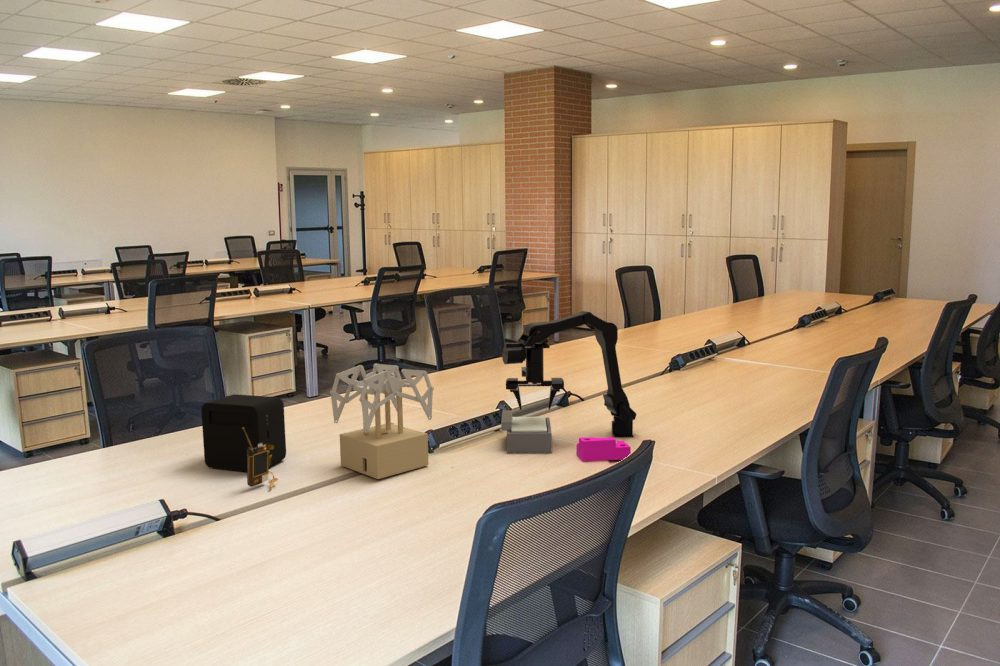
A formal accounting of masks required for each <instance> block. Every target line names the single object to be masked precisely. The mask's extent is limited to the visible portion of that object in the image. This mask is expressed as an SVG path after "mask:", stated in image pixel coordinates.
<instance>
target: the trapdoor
mask: <svg viewBox="0 0 1000 666" xmlns="http://www.w3.org/2000/svg"><path fill="white" fill-rule="evenodd" d="M501 414H502V415H501V422H500V424H501V425H500V428H501V430H500V431H504V432H505V431H506V432H507V431H511V432H547V426H546V418H545V417H546V416H513V410H510V409H509V410H504V409H503V410H502V412H501Z"/></svg>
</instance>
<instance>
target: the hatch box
mask: <svg viewBox="0 0 1000 666" xmlns="http://www.w3.org/2000/svg"><path fill="white" fill-rule="evenodd" d="M544 417H545V418H546V426H547V432H511V431H506V453H507V454H553V453H552V452H553V451H552V449H553V447H552V441H553V440H552V439H553V438H552V437H553V435H552V433H553V432H552V426H551V420H550V419H551V418H550V416H549V417H546V416H544Z"/></svg>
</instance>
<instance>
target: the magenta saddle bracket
mask: <svg viewBox="0 0 1000 666" xmlns="http://www.w3.org/2000/svg"><path fill="white" fill-rule="evenodd" d="M575 449H576V456H577V457H578V459H580V461H582V462H584V463H586V462H599V461H603V462H604V461H615V460H616V461H617V460H619V461H620V460H624V459H623V458H625V457H627V456H628V455H629V454H631V449H632V448H631V446H630V445H629V444H628V443H627V442H626V441H624V440H617V439H616V438H615V437H614V436H610V437H597V436H596V437H595V436H587V437H586V436H585V437H578V442H576V448H575Z"/></svg>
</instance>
